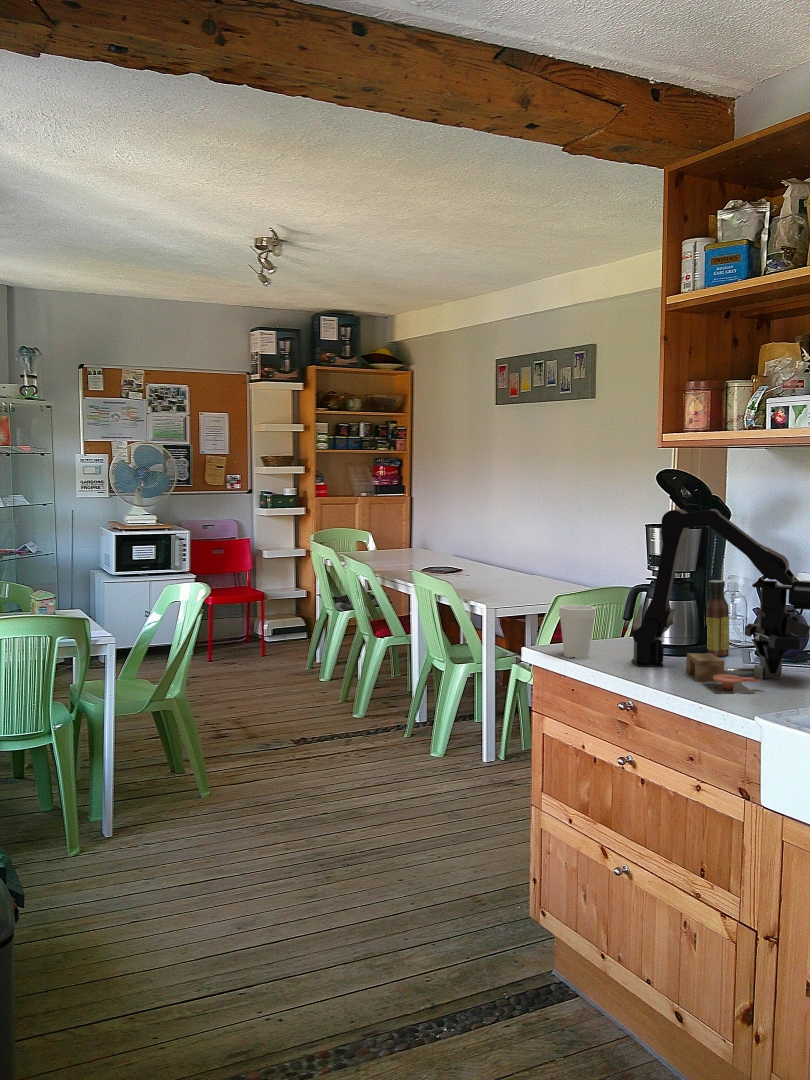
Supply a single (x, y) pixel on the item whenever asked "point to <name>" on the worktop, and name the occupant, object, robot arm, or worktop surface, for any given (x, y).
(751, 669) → the bolt
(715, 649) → the sauce bottle
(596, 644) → the worktop surface
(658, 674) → the worktop surface
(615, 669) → the worktop surface
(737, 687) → the brown square plate
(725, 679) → the handwheel
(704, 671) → the eye block
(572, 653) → the foam cup
